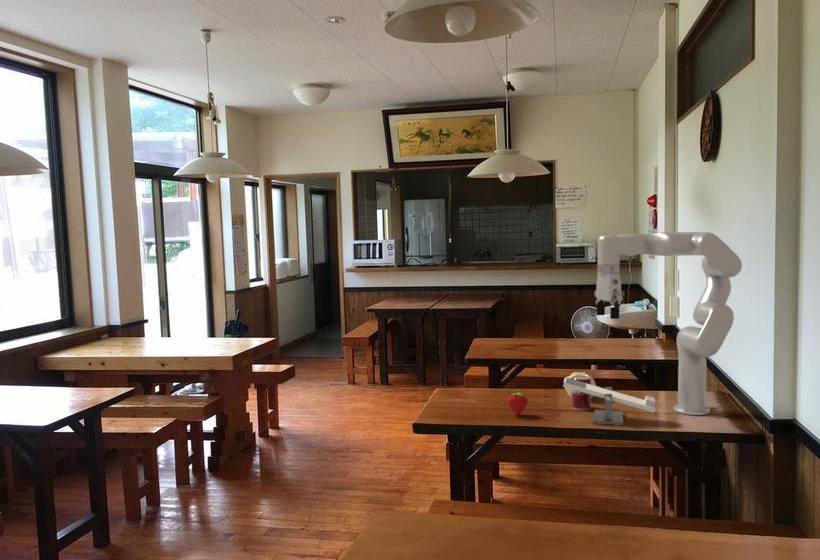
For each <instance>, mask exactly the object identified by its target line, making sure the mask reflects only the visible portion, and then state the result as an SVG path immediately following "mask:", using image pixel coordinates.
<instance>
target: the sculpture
mask: <svg viewBox="0 0 820 560" xmlns="http://www.w3.org/2000/svg"><path fill="white" fill-rule="evenodd" d="M577 375H583V376H589V377H590V378H591V385H593V386H597V385H596V382H595V380H594V378H593V377H591V376H590V375H589V374H587V373H586V371H584V372H581V371H580V372H579V371H574V372H572V373H571V374H570V375H569V376H568V375H567V376H566V377H565V378H570V379H572V377H573V376H577ZM565 378H564V379H563V382H564V381H565ZM564 389H565V391H566V392H567V393H566V394H567V395H568V396H569V398H570V399H572V389H570V388H567V387H564ZM594 397H595V396H594V395H591V399H592V398H594Z"/></svg>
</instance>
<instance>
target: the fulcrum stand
mask: <svg viewBox="0 0 820 560" xmlns="http://www.w3.org/2000/svg"><path fill="white" fill-rule="evenodd" d="M604 389H607V390H611V391H613V387H611V386H605V387H604ZM594 423H602V424H601V425H604V424H617V425H616V426H619V425H623V426H624V412H623V411H619V410H613V401H612V394H605V398H604V409H603V410H602V409H594V411H593V424H594Z"/></svg>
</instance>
